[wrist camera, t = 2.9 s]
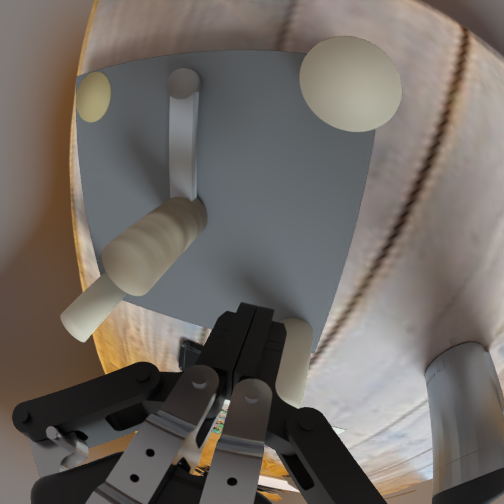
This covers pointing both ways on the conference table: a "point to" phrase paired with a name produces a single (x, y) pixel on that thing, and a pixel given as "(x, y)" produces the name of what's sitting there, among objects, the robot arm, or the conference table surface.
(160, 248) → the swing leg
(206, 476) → the sunglasses
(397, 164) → the conference table surface
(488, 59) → the conference table surface
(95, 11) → the conference table surface
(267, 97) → the grey square base plate
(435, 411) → the robot arm
